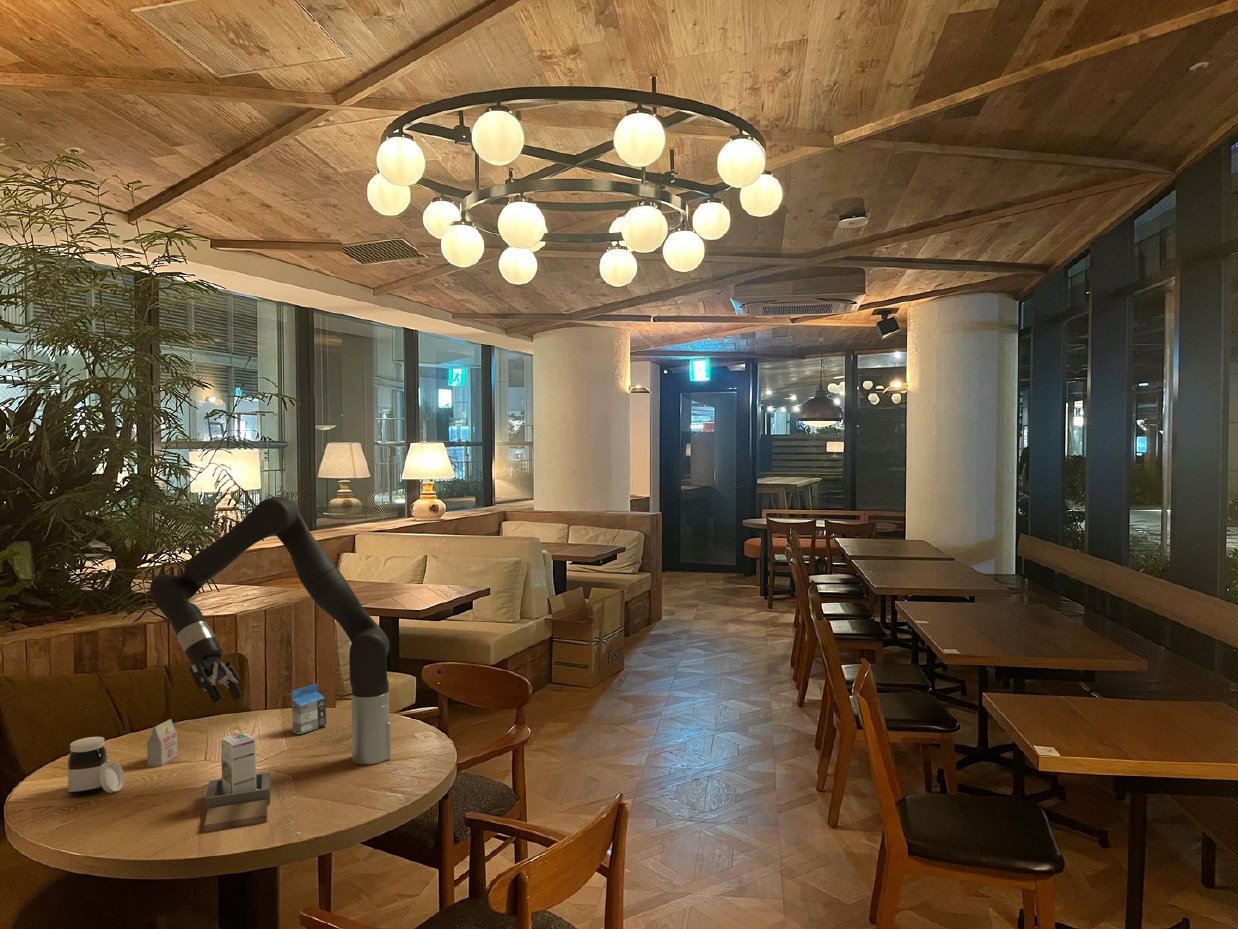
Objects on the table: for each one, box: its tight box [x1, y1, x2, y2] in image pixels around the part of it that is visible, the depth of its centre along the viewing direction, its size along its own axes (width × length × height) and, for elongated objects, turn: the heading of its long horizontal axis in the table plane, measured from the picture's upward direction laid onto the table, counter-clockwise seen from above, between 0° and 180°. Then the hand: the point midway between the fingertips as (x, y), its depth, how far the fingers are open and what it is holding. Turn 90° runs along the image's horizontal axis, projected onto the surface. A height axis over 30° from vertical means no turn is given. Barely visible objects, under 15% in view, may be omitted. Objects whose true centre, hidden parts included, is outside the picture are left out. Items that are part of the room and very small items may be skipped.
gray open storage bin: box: [204, 771, 271, 815], centre depth 187 cm, size 13×11×4 cm
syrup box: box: [220, 732, 257, 795], centre depth 187 cm, size 6×6×14 cm
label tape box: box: [291, 683, 327, 735], centre depth 235 cm, size 9×4×12 cm, turn 149°
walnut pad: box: [203, 799, 268, 833], centre depth 177 cm, size 12×9×2 cm
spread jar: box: [67, 736, 125, 797], centre depth 193 cm, size 12×11×12 cm
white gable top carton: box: [146, 718, 179, 768], centre depth 211 cm, size 4×7×10 cm, turn 175°
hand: (228, 700), depth 198 cm, fingers open, 8 cm apart
